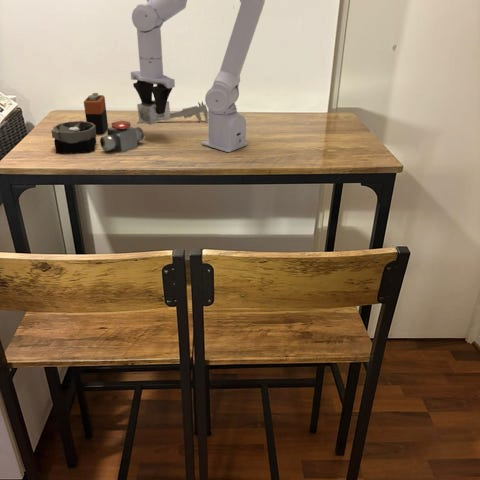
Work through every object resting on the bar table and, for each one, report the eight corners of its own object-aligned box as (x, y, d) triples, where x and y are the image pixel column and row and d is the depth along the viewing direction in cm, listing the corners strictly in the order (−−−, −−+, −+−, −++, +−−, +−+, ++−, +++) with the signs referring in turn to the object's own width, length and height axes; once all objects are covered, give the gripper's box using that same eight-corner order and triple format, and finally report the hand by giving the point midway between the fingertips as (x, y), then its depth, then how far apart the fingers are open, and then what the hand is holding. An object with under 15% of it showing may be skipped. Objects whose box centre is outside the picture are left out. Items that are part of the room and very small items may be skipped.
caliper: (207, 122, 146) (207, 100, 143) (207, 123, 145) (207, 101, 142) (137, 123, 144) (135, 101, 141) (137, 124, 143) (135, 102, 140)
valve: (112, 155, 119) (109, 130, 116) (99, 150, 122) (96, 126, 119) (146, 144, 127) (144, 121, 124) (134, 140, 129) (131, 117, 126)
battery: (87, 134, 133) (82, 97, 128) (93, 127, 139) (88, 91, 134) (103, 134, 133) (99, 97, 128) (108, 127, 139) (104, 91, 134)
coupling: (158, 116, 133) (156, 99, 131) (170, 118, 130) (169, 101, 128) (139, 122, 128) (137, 104, 126) (151, 124, 126) (149, 106, 123)
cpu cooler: (96, 119, 126) (93, 131, 118) (99, 140, 129) (96, 154, 121) (54, 121, 125) (49, 133, 116) (58, 142, 127) (53, 156, 119)
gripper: (119, 55, 123) (124, 109, 130) (158, 63, 115) (161, 120, 122) (141, 52, 127) (145, 104, 134) (179, 59, 120) (182, 114, 126)
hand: (154, 111), depth 128 cm, fingers closed on coupling, 5 cm apart
